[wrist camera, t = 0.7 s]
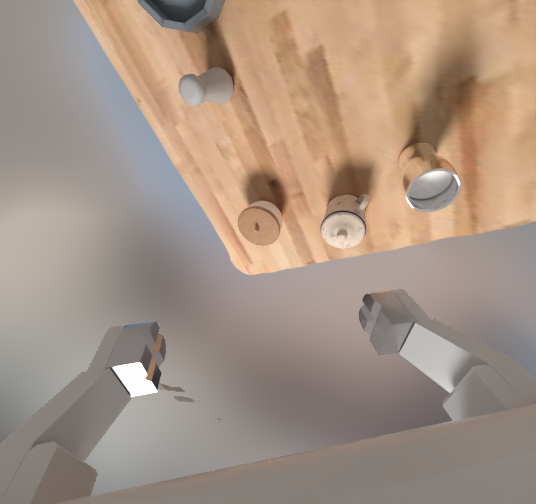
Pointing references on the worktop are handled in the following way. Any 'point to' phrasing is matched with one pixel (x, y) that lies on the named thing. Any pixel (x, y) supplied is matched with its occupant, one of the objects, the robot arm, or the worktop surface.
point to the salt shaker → (206, 87)
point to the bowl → (183, 13)
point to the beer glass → (427, 178)
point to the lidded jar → (260, 223)
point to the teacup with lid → (345, 221)
